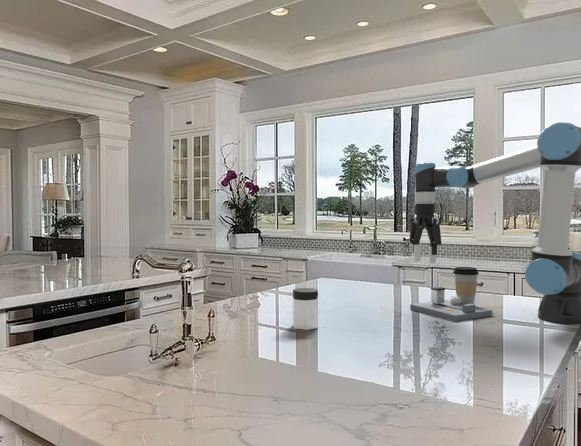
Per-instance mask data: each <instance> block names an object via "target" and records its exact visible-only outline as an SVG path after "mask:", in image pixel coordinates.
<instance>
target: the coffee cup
mask: <svg viewBox="0 0 581 446" xmlns="http://www.w3.org/2000/svg"><path fill="white" fill-rule="evenodd" d="M452 274H454V285H455V294H456V297H460V298H461V303H462V304H475V300H476V294H477V293H476V292H477V287H478V275H479V270H478V269H477V267H471V266H456V267H454V270H453V271H452Z"/></svg>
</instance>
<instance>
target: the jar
mask: <svg viewBox="0 0 581 446" xmlns="http://www.w3.org/2000/svg"><path fill="white" fill-rule="evenodd" d="M292 325H293V326H292V327H293V329H295V330H303V331H309V330H315V329H319V290H318V289H317V288H313V287H312V288H311V287H299V288H298V287H297V288H293V290H292Z"/></svg>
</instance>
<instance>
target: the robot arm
mask: <svg viewBox="0 0 581 446" xmlns="http://www.w3.org/2000/svg"><path fill="white" fill-rule="evenodd" d="M536 144H537V145H534V146H532V147H529V148H525V149H522V150H519V151H515V152H512V153H509V154H506V155H502V156H499V157H496V158H493V159H489V160H487V161H484V162H480V163H477V164H474V165H471V166H467V167H465V166H461V165H460V166H459V165H454V166H453V165H452V166H441V167H437V166H436V164H435V162H418V163H416V165H415V170H414V171H415V173H414V179H415V181H414V185H415V186H414V187H415V189H414V191H415V192H414V203H415V204H414V212H415V214H416V216H415V217H411V218H410V231H409V239H408V241H409V243H412V249H413V250H412V251H413V262H421V260H422V259H421V252H422V251H421V250H422V249H421V247H422V245H421V243H420V242H421V238H422V235H423V232H424V230H426V233H427V237H428V239H429V243H430V245H429V246H428V248H429V250H428V253H429V254H428V255H429V256H428V263H429V264H437V254H438V246H440V245H442V236H441V219H440V218H436V217H435V216H434V214H435V213H436V204H435V203H436V188H461V189H462V188H463V189H473V188H474V187H476V186H477V185H481V184H484V183H488V182H491V181H495V180H499V179H503V178H505V177H510V176H513V175H517V174H520V173H524V172H528V171H532V170H534V169H538V168H541V169H542V170H543V171H544V173H543V174H544V175H543V186H542V187H543V188H542V197H541V206H540V207H541V208H540V215H539V216H540V217H539V227H538V241H537V245H536V246H535V247H534V248H532V251H531V260H530V262H529V263H528V265H527V267H525V268H526V269H525V273H524V275H525V276H524V277H525V280H526V283H527V284H528V286H529V287H530V288H531V289H532V290H533V291H534V292H536V293H538V294H541V295H543V297H542V299H541V302H540V304H539V307H538V309H537V317H538V318H539V319H541V320H544V321H549V322H554V323H561V324H575V325H576V324H581V253H579V252H572V251H571V250H570V249H569V240H570V232H571V231H570V229H571V223H572V222H571V221H572V220H571V219H572V210H573V201H574V189H575V180H576V173H577V172H578V171H579V170H580V169H581V126H580V127H579V126H577V125H575V124H573V123H570V122H562V121H561V122H554V123H552V124H549V125H548V126H546V127H545V128H544V129H543V130H542V131H540V134H539V135H538V137H537V143H536Z"/></svg>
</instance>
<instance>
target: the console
mask: <svg viewBox="0 0 581 446" xmlns="http://www.w3.org/2000/svg"><path fill="white" fill-rule="evenodd" d="M409 310H411V311H415V312H417V313H418V312H419V313H421V314H426V315H430V316H433V317H435V318H436V317H437V318H440V319H444V320H449V321H452V322H460V321H462V322H463V321H466V320H473V319H479V318H486V317H491V316H493V310H492V309H489V308H485V307H479V306H476V304H475V303H474V304H462V303H461V298H460V297H457V296H453V295H452V296H450V300H449V299H444V303H441V304H435V303H431V301H425V302H416V303H410V309H409Z"/></svg>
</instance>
